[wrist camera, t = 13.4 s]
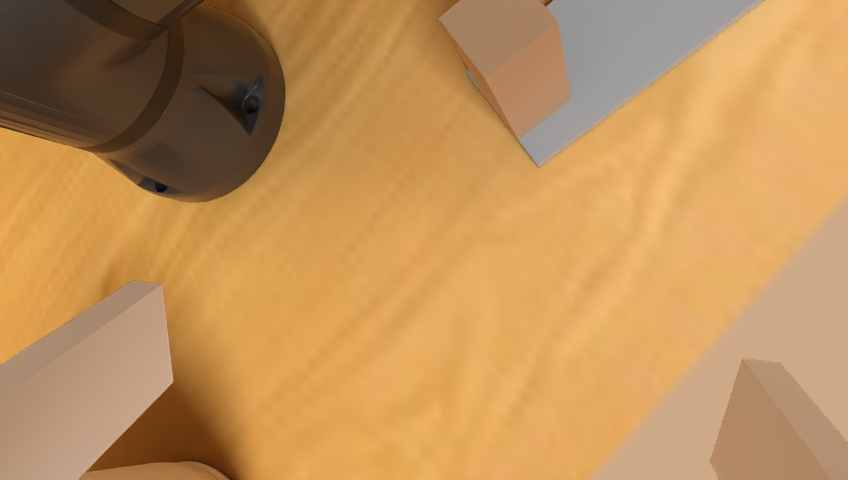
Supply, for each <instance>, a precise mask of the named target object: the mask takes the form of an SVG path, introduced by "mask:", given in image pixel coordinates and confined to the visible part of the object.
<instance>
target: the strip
mask: <svg viewBox="0 0 848 480" xmlns="http://www.w3.org/2000/svg"><path fill="white" fill-rule="evenodd" d="M763 1H764V0H554V1H552V2H551V3H550V4H549V5H547V6H546V7H545V5H544V4H543V3H542V2H541V1H540V0H459V1H458V2H457V3H456V4H455V5H453V6H452V7H451V8H450V9H449V10H448V11H446V12H445V13H444V14H443V15H442V16H440V17H439V18H438V19H439V21H440V23H441V24H442V26H443V28H444V29H445V31H446V33H447V34H448V36H449V38H450V39H451V41H452V43H453V45H454V46H455V48H456V50H457V51H458V53H459V55H460V56H461V58H462V60H463V61H464V63H465V65H466V66H467V68H468V70H467V71H466V73H467V75H468V76H469V78H470V79H471V81H472V82H473V83H474V84H475V86H476V87H477V88H478V90H479V91H480V92H481V93H482V95H483V96H484V97H485V99H486V100H487V101H488V103H489V104H490V105H491V106H492V108H493V109H494V110H495V112H496V113H497V114H498V116H499V117H500V118H501V119H502V121H503V122H504V123H505V125H506V126H507V127H508V128H509V130H510V131H511V132H512V134H513V135H514V136H515V138H516V139H517V140H518V141H519V143H520V144H521V145H522V147H523V148H524V149H525V151H526V152H527V153H528V154H529V156H530V157H531V158H532V160H533V161H534V162H535V164H536V165H537V166H538V167H539V168H540V167H541V166H542V165H544V164H545V163H546V162H548V161H549V160H550V159H552V158H553V157H554V156H556V155H557V154H558V153H560V152H561V151H562V150H564V149H565V148H566V147H568V146H569V145H570V144H572V143H573V142H575V141H576V140H577V139H579V138H580V137H581V136H583V135H584V134H585V133H587V132H588V131H589V130H591V129H592V128H593V127H595V126H596V125H597V124H599V123H600V122H601V121H603V120H604V119H605V118H607V117H608V116H609V115H611V114H612V113H614V112H615V111H616V110H618V109H619V108H620V107H622V106H623V105H624V104H626V103H627V102H628V101H630V100H631V99H632V98H634V97H635V96H636V95H638V94H639V93H640V92H642V91H643V90H644V89H646V88H647V87H648V86H650V85H651V84H653V83H654V82H655V81H657V80H658V79H659V78H661V77H662V76H663V75H665V74H666V73H667V72H669V71H670V70H671V69H673V68H674V67H675V66H677V65H678V64H679V63H681V62H682V61H683V60H685V59H686V58H687V57H689V56H690V55H692V54H693V53H694V52H696V51H697V50H698V49H700V48H701V47H702V46H704V45H705V44H706V43H708V42H709V41H710V40H712V39H713V38H714V37H716V36H717V35H718V34H720V33H721V32H722V31H724V30H725V29H726V28H728V27H729V26H731V25H732V24H733V23H735V22H736V21H737V20H739V19H740V18H741V17H743V16H744V15H745V14H747V13H748V12H749V11H751V10H752V9H753V8H755V7H756V6H757V5H759V4H760V3H761V2H763Z"/></svg>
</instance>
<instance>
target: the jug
mask: <svg viewBox="0 0 848 480" xmlns="http://www.w3.org/2000/svg"><path fill="white" fill-rule="evenodd" d="M78 480H230V479H229V478H228V477H227V476H226V475H224V474H223V473H221V472H220V471H218V470H217V469H215V468H213V467H211V466H208V465H206V464H203V463H199V462H193V461H183V462H176V463H172V462H159V463H149V464H143V465H136V466H127V467H118V468H112V469H105V470H97V471H90V472H85V473H84V474H83V475H82V476H81V477H80V478H79V479H78Z"/></svg>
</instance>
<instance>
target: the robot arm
mask: <svg viewBox="0 0 848 480" xmlns="http://www.w3.org/2000/svg"><path fill="white" fill-rule="evenodd" d="M203 1H204V0H0V127H2V128H6V129H9V130H13V131H17V132H20V133H24V134H28V135H31V136H35V137H39V138H42V139H46V140H50V141H53V142H57V143H61V144H64V145H68V146H72V147H75V148H79V149H82V150H86V151H89V152H92V153H94V154H95V155H96V156H98V157H99V158H100V159H102V160H103V161H105V162H106V163H107V164H109V165H110V166H111V167H113V168H114V169H116V170H117V171H118V172H120V173H121V174H123V175H124V176H125V177H127V178H128V179H129V180H131V181H132V182H134V183H135V184H136V185H138V186H139V187H141V188H143V189H144V190H146V191H148V192H150V193H153V194H155V195H158V196H162V197H166V198H170V199H174V200H178V201H183V202H205V201H210V200H213V199H217V198H219V197H222V196H224V195H226V194H228V193H230V192H232V191H233V190H235V189H236V188H238V187H239V186H241V185H242V184H243V183H244V182H246V181H247V180H248V179H249V178H250V177H251V176H252V175H253V174H254V173H255V172H256V170H257V169H258V168H259V167H260V166H261V164H262V163H263V162H264V160H265V158H266V157H267V155H268V154H269V152H270V150H271V148H272V146H273V144H274V142H275V140H276V137H277V135H278V132H279V129H280V125H281V121H282V117H283V111H284V100H285V90H284V80H283V75H282V71H281V67H280V64H279V62H278V59H277V57H276V55H275V53H274V51H273V49H272V48H271V46H270V45H269V43H268V42H267V41H266V40H265V39H264V38H263V37H262V36H261V35H260V34H259V33H258V32H257V31H255V30H254V29H253V28H251V27H250V26H249V25H248V24H246V23H245V22H244V21H242V20H241V19H240V18H238V17H237V16H235V15H233V14H231V13H229V12H227V11H224V10H222V9H219V8H215V7H211V6H207V5H204V4H200V3H201V2H203ZM172 383H173V373H172V364H171V355H170V347H169V338H168V329H167V320H166V311H165V303H164V294H163V285H162V284H157V283H149V282H141V281H133V280H132V281H131V282H129V283H128V284H126V285H125V286H123V287H122V288H120V289H118V290H117V291H115V292H114V293H112V294H111V295H109V296H107V297H106V298H104V299H103V300H101V301H100V302H98V303H96V304H95V305H93V306H92V307H90V308H89V309H87V310H86V311H84V312H82V313H81V314H79V315H78V316H76V317H75V318H73V319H71V320H70V321H68V322H67V323H65V324H64V325H62V326H61V327H59V328H57V329H56V330H54V331H53V332H51V333H50V334H48V335H46V336H45V337H43V338H42V339H40V340H39V341H37V342H36V343H34V344H32V345H31V346H29V347H28V348H26V349H25V350H23V351H21V352H20V353H18V354H17V355H15V356H14V357H12V358H10V359H9V360H7V361H6V362H4V363H3V364H1V365H0V480H78V479H79V478H80V477H81V476H82V475H83V474H84V473H85V472H86V471H87V470H88V469H89V468H90V467H91V466H92V465H93V464H94V463H95V462H96V461H97V460H98V458H99V457H100V456H101V455H102V454H103V453H104V452H105V451H106V450H107V449H108V448H109V447H110V446H111V445H112V444H113V443H114V442H115V441H116V440H117V439H118V438H119V437H120V436H121V435H122V434H123V433H124V432H125V431H126V430H127V429H128V428H129V427H130V426H131V425H132V424H133V423H134V422H135V421H136V420H137V419H138V418H139V417H140V416H141V415H142V414H143V413H144V412H145V410H146V409H147V408H148V407H149V406H150V405H151V404H152V403H153V402H154V401H155V400H156V399H157V398H158V397H159V396H160V395H161V394H162V393H163V392H164V391H165V390H166V389H167V388H168V387H169V386H170V385H171V384H172ZM710 462H711V464H712V467H713V469H714V471H715V473H716V475H717V477H718V479H719V480H848V442H847V441H846V440H845V439H844V437H843V436H842V435H841V434H840V433H839V431H838V430H837V429H836V428H835V427H834V426H833V424H832V423H831V422H830V421H829V419H828V418H827V417H826V416H825V415H824V413H823V412H822V411H821V410H820V409H819V408H818V406H817V405H816V404H815V403H814V402H813V401H812V399H811V398H810V397H809V396H808V395H807V393H806V392H805V391H804V390H803V389H802V388H801V386H800V385H799V384H798V383H797V382H796V380H795V379H794V378H793V377H792V376H791V375H790V373H789V372H788V371H787V370H786V369H785V367H784V366H783V365H782V364H781V363H777V362H770V361H762V360H754V359H746V358H742V361H741V364H740V367H739V370H738V373H737V376H736V380H735V383H734V386H733V389H732V393H731V396H730V399H729V402H728V405H727V408H726V412H725V415H724V418H723V421H722V425H721V428H720V431H719V434H718V437H717V440H716V444H715V447H714V450H713V453H712V456H711V460H710Z"/></svg>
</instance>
